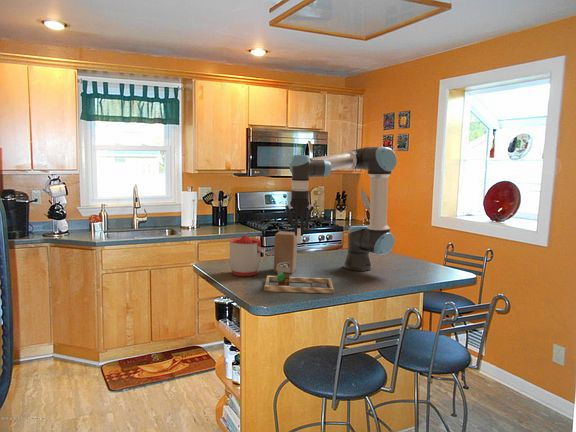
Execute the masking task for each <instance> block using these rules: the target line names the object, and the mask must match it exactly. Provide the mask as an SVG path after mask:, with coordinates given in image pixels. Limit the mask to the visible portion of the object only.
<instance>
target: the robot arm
mask: <svg viewBox="0 0 576 432" xmlns="http://www.w3.org/2000/svg"><path fill="white" fill-rule="evenodd" d="M291 160H292V161H290V163H289V171H290V173H291V196H290V197H291V199H290V202H289V204H287V205H285V209H286V211H287V215H288V218H289V219H288V220H289V224H290V227H291V228H293V229H294V232H295V236H297V244H301V237H303V236H304V229H306V228H308V226H309V223H310V218H311V215H312V212H313V210H314V209H315V207H314V205H311V204H310V202H309V191H308V190H309V187H310V186H309V185H310V184H309V183H310V178H311V177H314V178H315V177H316V178H317V177H318V178H319V177H320V178H321V177H322V178H324V177H325V178H326V177H328V176H330V174H331V173H332V171H337V170H338V171H339V170H343V169H348V170H365V171H367V176H369V178H370V187H369V188H370V190H369V191H370V196H369V197H370V199H369V203H370V204H369V224H368V225H352V226H349V228H348V232H347V252H346V253H347V254H346V256H345V259H344V261H343V268H344V269H346V270H349V271H356V272H368V271H371V270H372V269H373V267H372V266H373V264H372V261H371V257H370V256H371V255H370V253H373V254H376V255H381V256H383V255H387V254H389V253H390V252H391V251H392V249H393V248H394V245H395V236H394V235H393V233H391V227H390V226H389V225H388V201H389V200H388V199H389V198H388V194H389V193H388V192H389V191H388V190H389V189H388V188H389V177H390V176H392V171H394V170H395V168H396V166H397V162H398V161H397V155H396V153H395V151H394V150H393V149H392V148H390V147H388V146H364V147H361V148H356V149H351V150H348V151H346V152H345V153H338V154H331V155H324V156H316V157H315V156H314V157H310V156H309V155H308V154H293V156H292V159H291ZM291 208H292V209H293V211H294V216H295V217H294V221H293V216H292V212H291V211H292V210H291ZM306 209H308V211H307V216H306V220H305V219H304V217H305V210H306ZM299 212H300V227H299V226H298V223H299ZM304 220H305V223H304ZM367 270H368V271H367Z"/></svg>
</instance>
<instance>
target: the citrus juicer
mask: <svg viewBox="0 0 576 432" xmlns="http://www.w3.org/2000/svg"><path fill="white" fill-rule="evenodd" d="M228 242H229V265H230V266H229V267H230V269H231V273H232V274H233V275H234V276H235V275H236V276H237V277H252V276H255V275H256V274H257V273H258V271H259V266H260V263H261V253H264V252H265V248H264V247H262V241H261V239H258V238H255V237H254V238H252V237H249V235H247V234H243V236H241V237H236V238H231V239H229V241H228Z"/></svg>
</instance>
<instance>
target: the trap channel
mask: <svg viewBox="0 0 576 432" xmlns="http://www.w3.org/2000/svg"><path fill="white" fill-rule="evenodd" d="M270 282H278V275H266V279H265V283H264V289H263V291H264V292H281V293H282V292H284V293H312V294H314V293H315V294H334V293H335V288H334V286H333V281H332V278H327V277H326V278H325V277H324V278H323V277H297V276H296V277H295V276H290V277H289V283H305V284H306V283H307V284H308V283H310V284H311V286H309V287H308V286H290V285H289V286H278V284H277V285H274V284H273V285H271V284H270Z"/></svg>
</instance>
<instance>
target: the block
mask: <svg viewBox="0 0 576 432" xmlns="http://www.w3.org/2000/svg"><path fill="white" fill-rule="evenodd" d="M297 245H298V243H297V236H295V231H282V230H281V231H278V232H276V233H275V234H274V247H273V248H274V249H273V250H274V251H273V272H274V273H277V274H278V270H276V267H277V264H278V263H281V262H290V275H291V274H294V272H295V271H296V269H297V256H298V255H297V254H298V253H297V248H298V246H297Z"/></svg>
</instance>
